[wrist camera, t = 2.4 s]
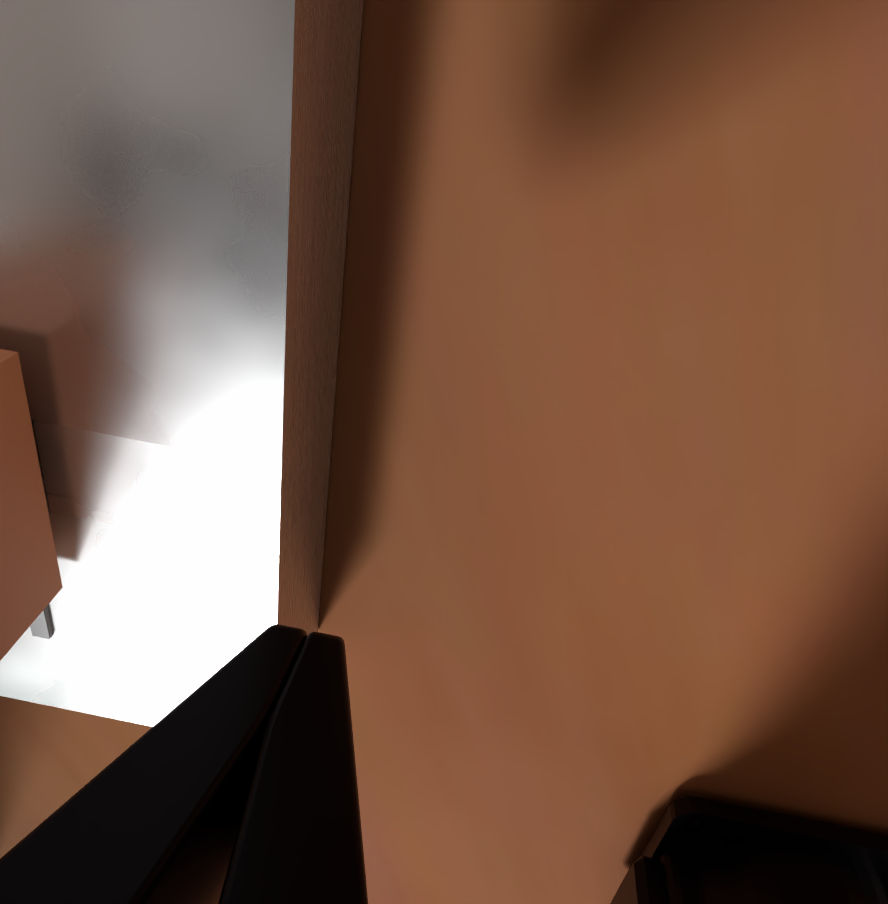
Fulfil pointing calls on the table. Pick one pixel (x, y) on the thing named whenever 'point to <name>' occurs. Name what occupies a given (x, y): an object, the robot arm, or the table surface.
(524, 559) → the table surface
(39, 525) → the fader orange
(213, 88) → the grey slider board
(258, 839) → the robot arm
